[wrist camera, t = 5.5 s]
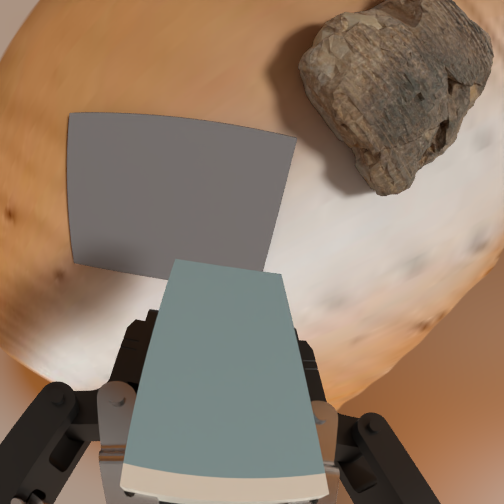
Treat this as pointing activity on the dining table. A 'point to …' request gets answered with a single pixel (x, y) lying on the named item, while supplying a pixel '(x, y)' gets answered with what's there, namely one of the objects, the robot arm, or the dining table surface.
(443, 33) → the clay tablet
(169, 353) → the block
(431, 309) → the dining table surface
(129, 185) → the mat
